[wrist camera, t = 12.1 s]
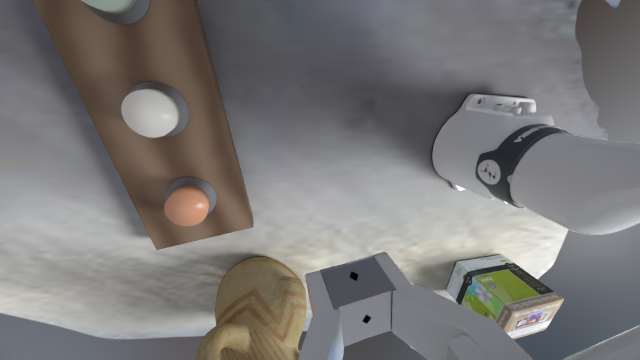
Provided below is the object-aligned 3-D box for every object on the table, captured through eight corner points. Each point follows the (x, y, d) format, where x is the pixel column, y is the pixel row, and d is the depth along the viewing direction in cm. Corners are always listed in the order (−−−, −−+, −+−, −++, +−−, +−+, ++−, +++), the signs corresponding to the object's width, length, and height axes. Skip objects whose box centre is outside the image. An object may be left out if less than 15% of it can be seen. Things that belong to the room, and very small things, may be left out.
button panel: (171, -92, 25) (162, -113, 23) (253, 217, 42) (253, 227, 39) (8, -93, 23) (-26, -117, 20) (162, 237, 39) (156, 250, 36)
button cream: (171, 86, 28) (165, 86, 26) (185, 129, 30) (182, 133, 28) (121, 92, 27) (112, 93, 25) (140, 136, 29) (133, 141, 27)
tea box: (444, 290, 64) (495, 346, 51) (455, 259, 60) (513, 311, 47) (489, 282, 68) (547, 332, 55) (502, 252, 64) (567, 298, 51)
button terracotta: (203, 181, 33) (201, 188, 31) (214, 213, 35) (212, 221, 33) (162, 189, 32) (157, 196, 30) (176, 222, 34) (172, 230, 32)
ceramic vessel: (263, 327, 52) (276, 515, 30) (182, 287, 43) (113, 512, 21) (323, 275, 51) (381, 432, 29) (251, 223, 42) (256, 391, 20)
